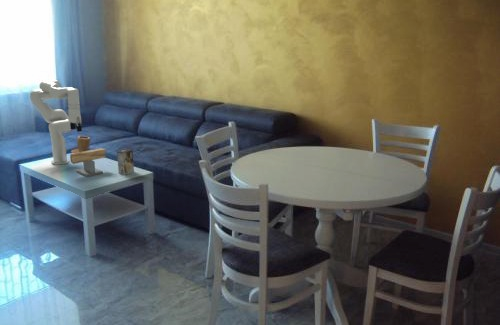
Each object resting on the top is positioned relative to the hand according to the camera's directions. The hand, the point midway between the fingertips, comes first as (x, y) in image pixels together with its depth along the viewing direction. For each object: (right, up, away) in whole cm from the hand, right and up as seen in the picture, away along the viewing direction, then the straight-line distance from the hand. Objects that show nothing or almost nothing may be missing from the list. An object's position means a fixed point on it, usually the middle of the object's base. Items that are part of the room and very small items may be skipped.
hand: (76, 130), depth 338 cm
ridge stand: (+10, -30, -2) cm, 32 cm away
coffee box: (+36, -30, 0) cm, 47 cm away
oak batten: (+10, -21, -5) cm, 24 cm away
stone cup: (-11, -17, +45) cm, 49 cm away
